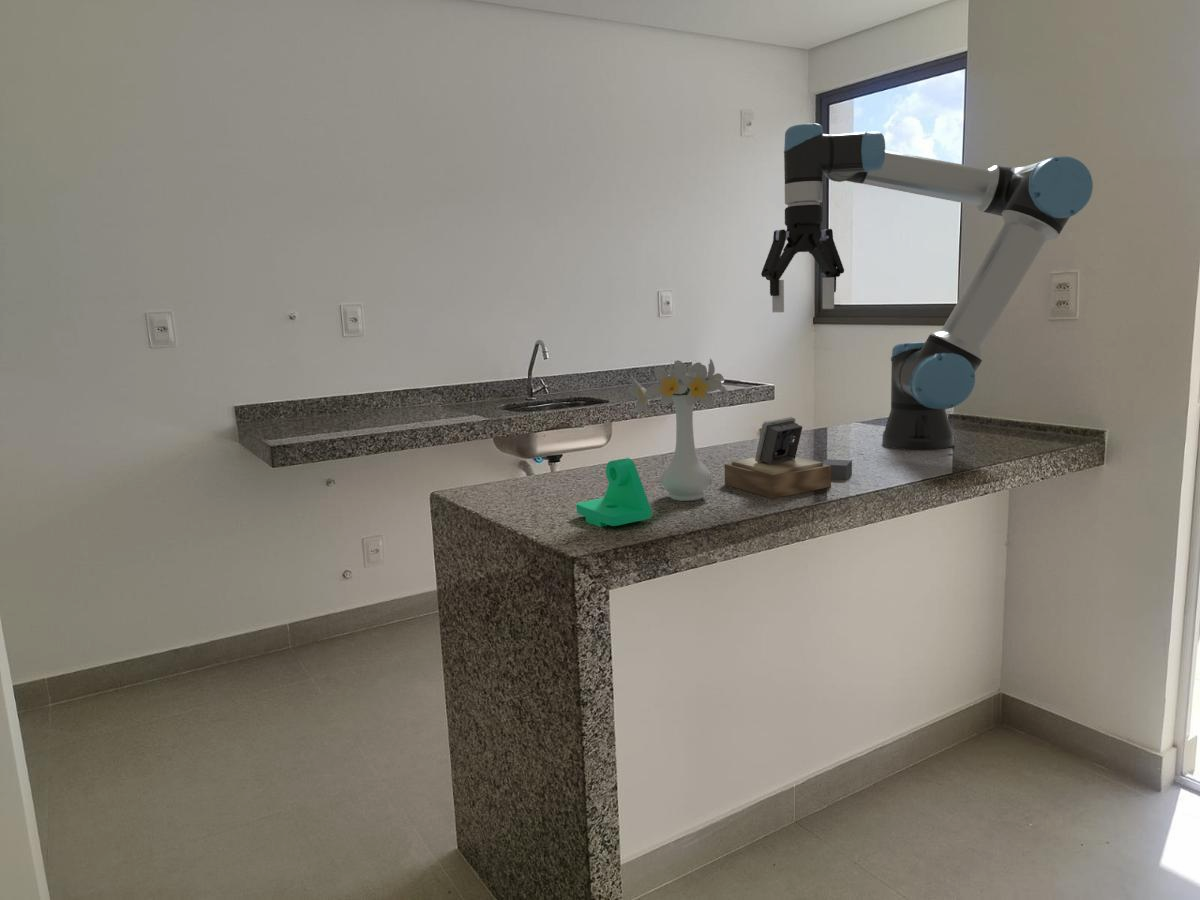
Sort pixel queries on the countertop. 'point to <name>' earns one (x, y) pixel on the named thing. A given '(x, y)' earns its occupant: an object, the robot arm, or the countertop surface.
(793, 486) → the wooden box
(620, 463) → the camera mount
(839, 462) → the rubber block
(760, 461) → the electrical switch
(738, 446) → the countertop surface
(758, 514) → the countertop surface
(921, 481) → the countertop surface
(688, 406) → the flower vase
